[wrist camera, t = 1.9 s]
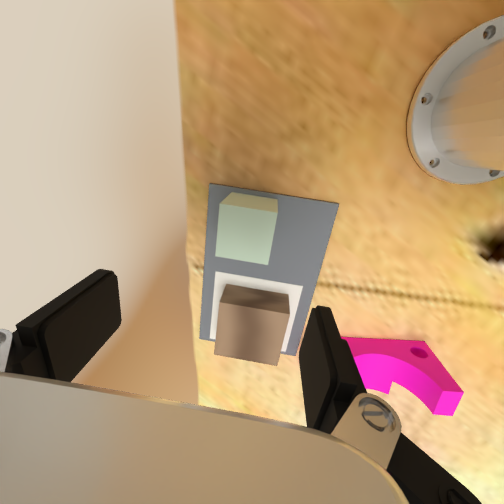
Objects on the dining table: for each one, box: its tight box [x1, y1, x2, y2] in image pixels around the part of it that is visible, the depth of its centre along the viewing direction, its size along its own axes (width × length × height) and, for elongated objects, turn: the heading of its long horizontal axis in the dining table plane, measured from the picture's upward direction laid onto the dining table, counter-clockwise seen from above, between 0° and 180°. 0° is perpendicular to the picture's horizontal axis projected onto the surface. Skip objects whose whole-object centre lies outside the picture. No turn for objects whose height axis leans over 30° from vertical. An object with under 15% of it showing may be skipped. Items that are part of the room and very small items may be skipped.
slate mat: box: [199, 183, 339, 356], centre depth 30 cm, size 14×22×1 cm, turn 172°
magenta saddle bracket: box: [341, 337, 464, 416], centre depth 30 cm, size 15×6×8 cm, turn 91°
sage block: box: [215, 192, 278, 265], centre depth 24 cm, size 5×5×6 cm
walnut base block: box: [214, 284, 290, 366], centre depth 30 cm, size 8×8×4 cm
